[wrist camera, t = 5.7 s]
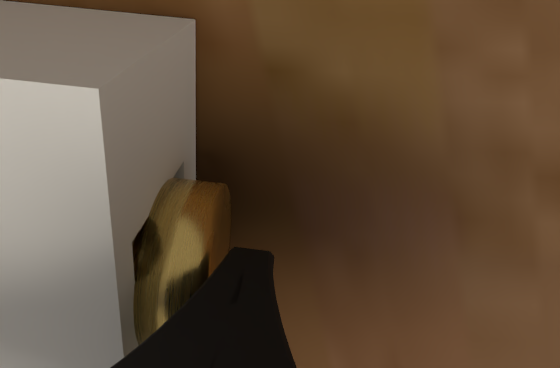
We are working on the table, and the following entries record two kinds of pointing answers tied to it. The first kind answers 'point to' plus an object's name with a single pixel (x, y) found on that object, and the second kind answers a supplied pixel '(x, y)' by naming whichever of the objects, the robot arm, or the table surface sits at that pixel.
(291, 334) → the table surface
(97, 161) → the block
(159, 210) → the pin
